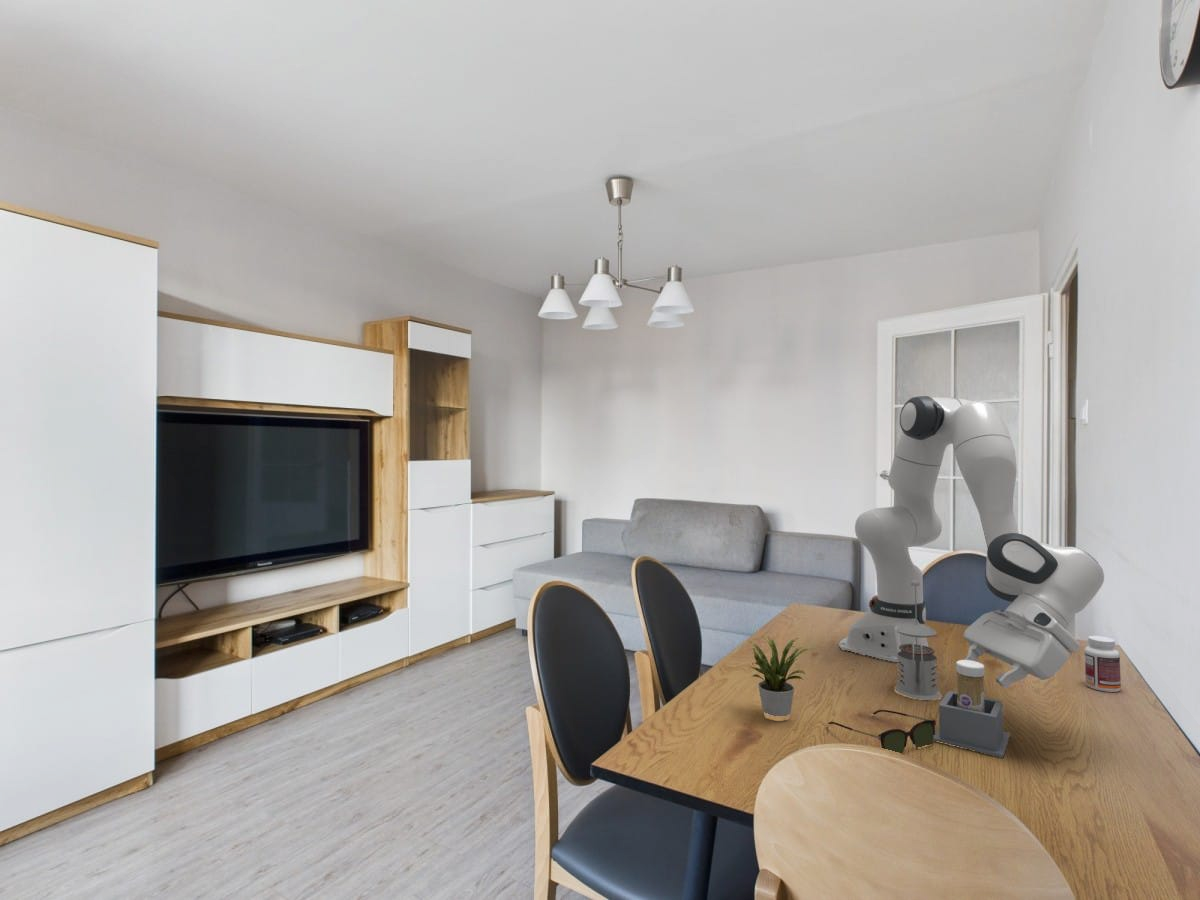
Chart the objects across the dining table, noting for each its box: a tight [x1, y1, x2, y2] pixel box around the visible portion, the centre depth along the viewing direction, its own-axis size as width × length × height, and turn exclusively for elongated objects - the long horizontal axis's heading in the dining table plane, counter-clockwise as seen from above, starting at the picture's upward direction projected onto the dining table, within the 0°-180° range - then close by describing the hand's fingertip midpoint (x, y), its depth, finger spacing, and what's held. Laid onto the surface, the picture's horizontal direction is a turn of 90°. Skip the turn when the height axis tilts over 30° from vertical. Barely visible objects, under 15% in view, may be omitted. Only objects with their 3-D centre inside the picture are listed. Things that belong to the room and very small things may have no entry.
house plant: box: [747, 635, 816, 716], centre depth 129 cm, size 14×14×16 cm
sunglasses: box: [827, 709, 937, 755], centre depth 119 cm, size 14×15×5 cm
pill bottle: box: [1084, 635, 1122, 693], centre depth 141 cm, size 6×6×11 cm
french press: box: [894, 580, 943, 700], centre depth 139 cm, size 10×12×25 cm
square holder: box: [933, 690, 1011, 759], centre depth 117 cm, size 11×11×7 cm
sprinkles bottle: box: [955, 659, 986, 713], centre depth 117 cm, size 5×5×13 cm
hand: (983, 675), depth 117 cm, fingers open, 8 cm apart
